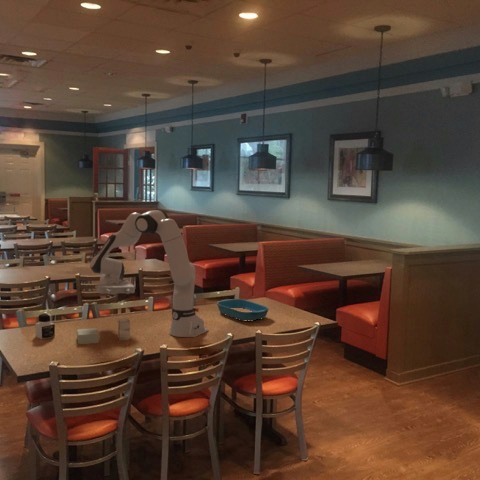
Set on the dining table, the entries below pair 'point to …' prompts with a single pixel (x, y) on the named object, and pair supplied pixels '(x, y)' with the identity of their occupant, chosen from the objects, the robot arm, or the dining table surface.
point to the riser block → (87, 336)
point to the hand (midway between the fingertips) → (119, 292)
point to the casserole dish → (256, 309)
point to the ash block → (124, 329)
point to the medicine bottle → (45, 327)
